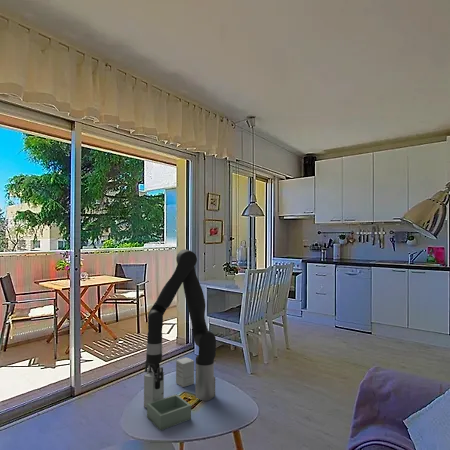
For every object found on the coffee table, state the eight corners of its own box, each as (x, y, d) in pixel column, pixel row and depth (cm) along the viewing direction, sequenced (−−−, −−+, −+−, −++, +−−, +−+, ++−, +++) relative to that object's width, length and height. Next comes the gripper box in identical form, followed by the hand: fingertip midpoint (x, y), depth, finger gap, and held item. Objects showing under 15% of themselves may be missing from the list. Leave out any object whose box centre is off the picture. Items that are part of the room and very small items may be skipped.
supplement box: (186, 379, 194) (187, 356, 195) (194, 383, 189) (194, 360, 189) (175, 383, 190) (175, 359, 190) (182, 387, 184) (183, 363, 184)
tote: (176, 407, 164) (176, 394, 164) (190, 418, 153) (191, 405, 153) (146, 417, 154) (147, 403, 155) (160, 430, 144) (160, 416, 144)
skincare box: (152, 410, 161) (153, 378, 161) (142, 406, 164) (143, 375, 164) (164, 402, 168) (164, 371, 168) (154, 399, 171) (155, 369, 171)
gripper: (168, 354, 163) (167, 389, 162) (154, 346, 174) (153, 378, 174) (154, 357, 158) (153, 393, 158) (140, 348, 169) (139, 382, 169)
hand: (153, 385), depth 166 cm, fingers open, 8 cm apart
